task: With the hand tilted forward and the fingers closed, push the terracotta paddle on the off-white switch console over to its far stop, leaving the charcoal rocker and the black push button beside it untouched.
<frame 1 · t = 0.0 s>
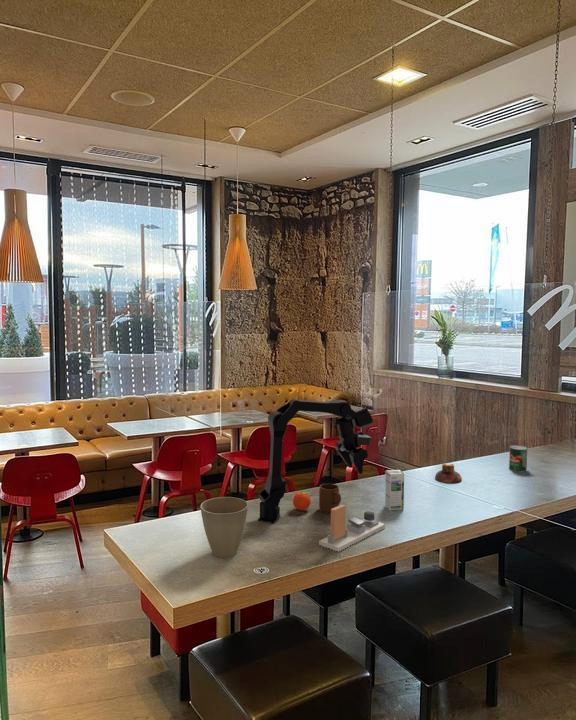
hand: (355, 470, 219), 15 cm above the table, tool pointing down, fingers open, 9 cm apart
switch console: (337, 543, 188), on the table
push button: (369, 516, 201), point 5 cm above the table, slide at 0.0 cm
canned tomato: (517, 470, 275), on the table
mug: (331, 512, 217), on the table
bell: (448, 480, 259), on the table
rocker: (356, 522, 195), point 4 cm above the table, hinge at 10.0°
syrup box: (394, 508, 222), on the table
paddle: (338, 522, 188), point 7 cm above the table, hinge at 0.0°
plant pot: (224, 554, 181), on the table
clementine: (302, 510, 220), on the table
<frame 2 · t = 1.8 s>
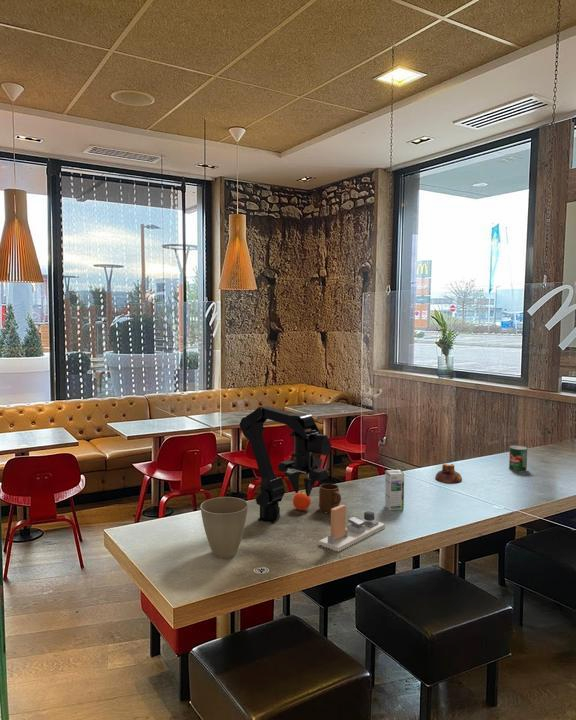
hand: (302, 494, 198), 13 cm above the table, tool pointing down, fingers open, 5 cm apart
nothing on the table moved.
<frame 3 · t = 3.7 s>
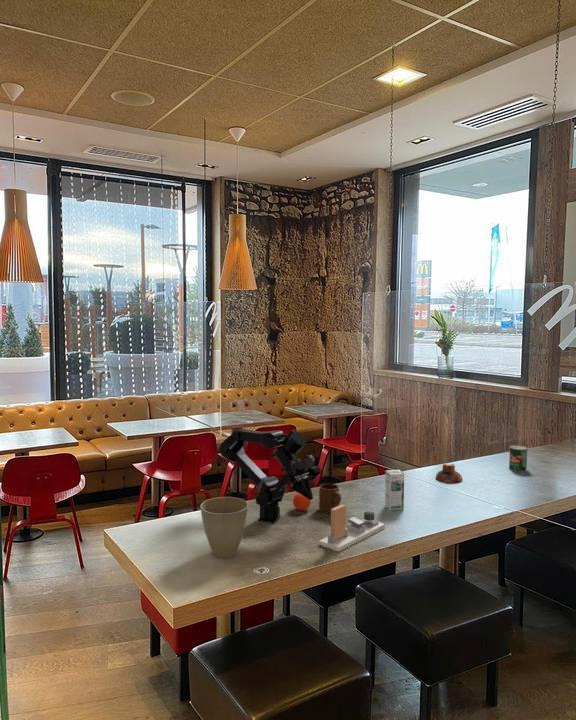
hand: (311, 499, 195), 12 cm above the table, tool tilted 45°, fingers closed
nothing on the table moved.
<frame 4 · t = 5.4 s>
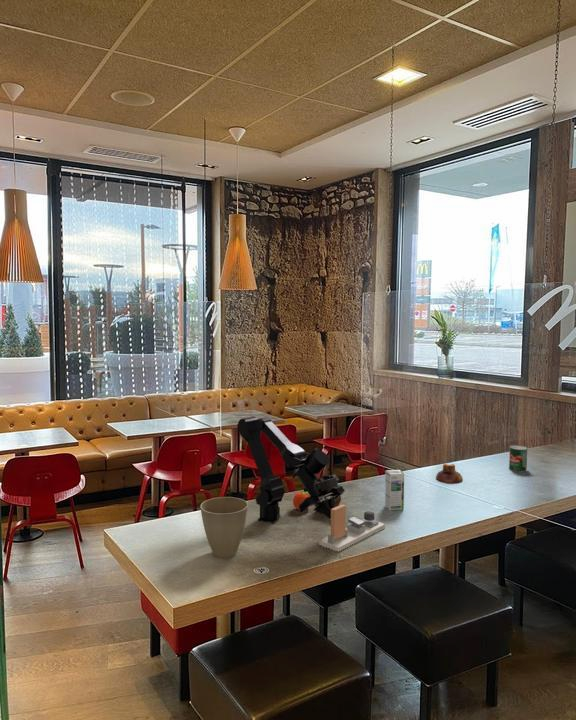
hand: (336, 520, 188), 8 cm above the table, tool tilted 45°, fingers closed, pressing on paddle
paddle: (338, 522, 188), point 7 cm above the table, hinge at 0.1°, touching gripper
everything else where it was.
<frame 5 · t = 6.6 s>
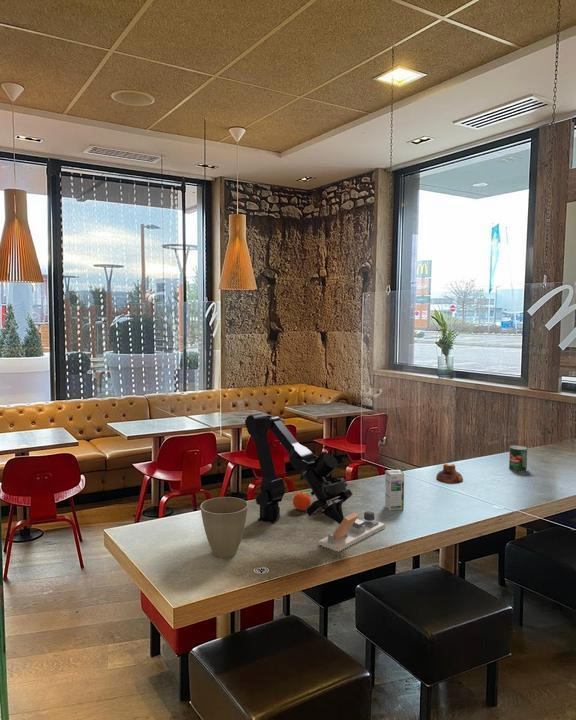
hand: (343, 524, 186), 7 cm above the table, tool tilted 45°, fingers closed, pressing on paddle
paddle: (344, 527, 186), point 6 cm above the table, hinge at 33.5°, touching gripper
everything else where it was.
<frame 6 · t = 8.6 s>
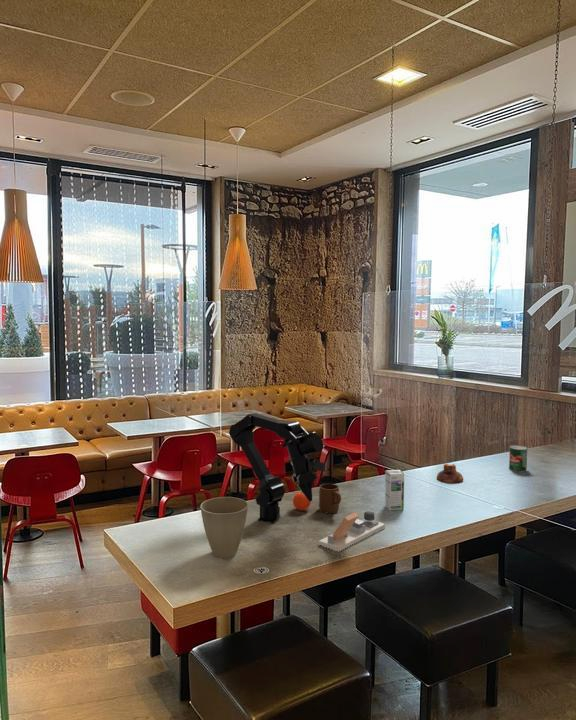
hand: (310, 501, 197), 11 cm above the table, tool tilted 20°, fingers closed
paddle: (344, 527, 186), point 6 cm above the table, hinge at 33.6°
everything else where it was.
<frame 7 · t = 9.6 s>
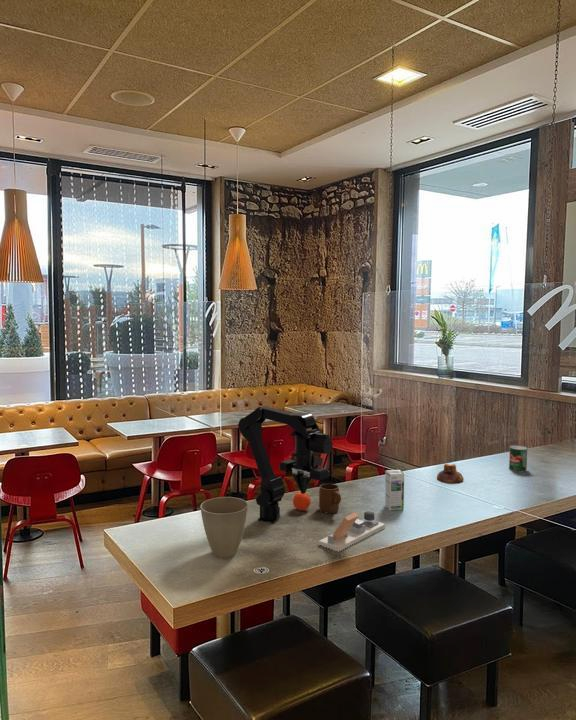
hand: (303, 493, 199), 13 cm above the table, tool pointing down, fingers closed
nothing on the table moved.
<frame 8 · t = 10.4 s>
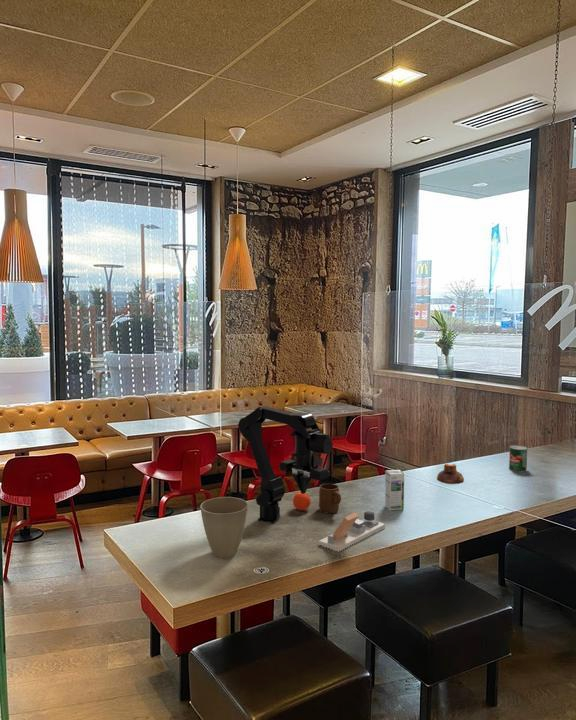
hand: (303, 493, 199), 13 cm above the table, tool pointing down, fingers closed
nothing on the table moved.
at the end: paddle at +34° (first picture: +0°); rocker at +10° (first picture: +10°); push button slide at 0.0 cm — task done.
